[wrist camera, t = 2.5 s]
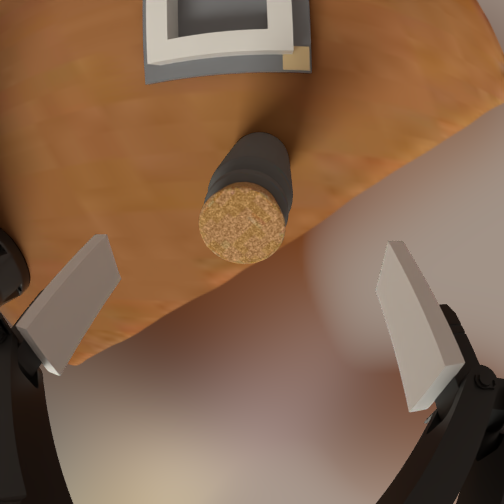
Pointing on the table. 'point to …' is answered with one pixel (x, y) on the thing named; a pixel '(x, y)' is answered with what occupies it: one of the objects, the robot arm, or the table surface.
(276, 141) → the bottle
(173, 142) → the table surface
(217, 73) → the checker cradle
